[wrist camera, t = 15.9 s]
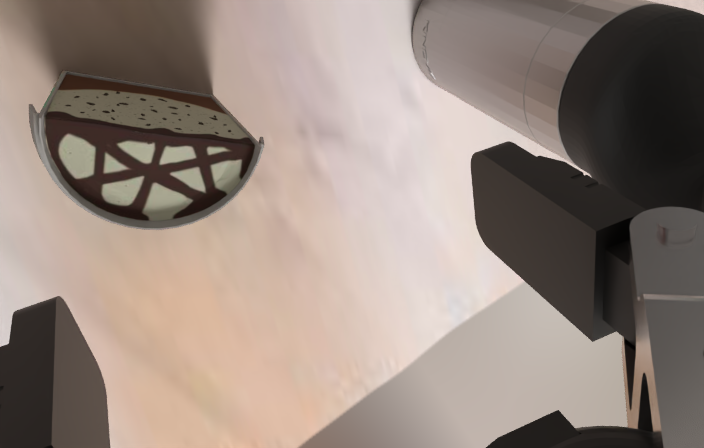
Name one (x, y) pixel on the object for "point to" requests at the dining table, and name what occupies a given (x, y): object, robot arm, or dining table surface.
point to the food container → (142, 150)
